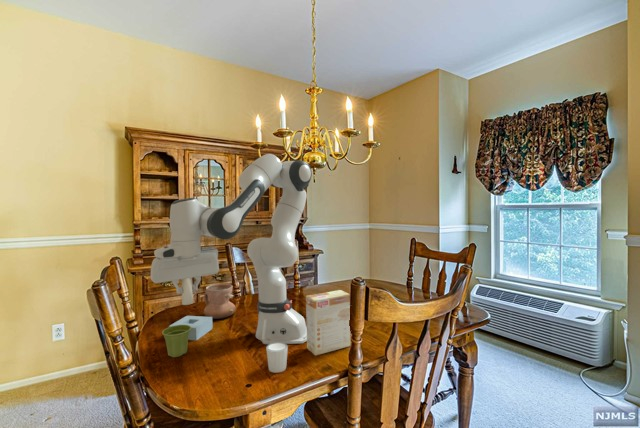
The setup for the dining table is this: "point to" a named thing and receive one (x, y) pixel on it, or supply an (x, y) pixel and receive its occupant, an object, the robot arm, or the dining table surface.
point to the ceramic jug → (219, 301)
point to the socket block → (196, 325)
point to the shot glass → (277, 356)
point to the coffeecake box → (328, 321)
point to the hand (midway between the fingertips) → (187, 292)
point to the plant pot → (176, 339)
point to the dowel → (187, 291)
